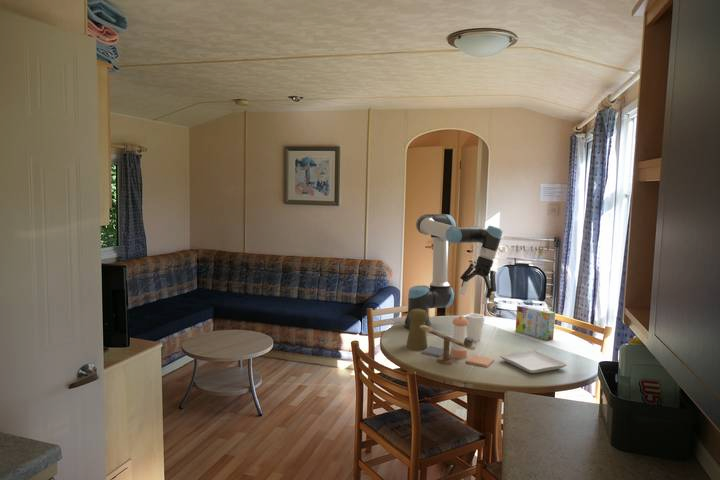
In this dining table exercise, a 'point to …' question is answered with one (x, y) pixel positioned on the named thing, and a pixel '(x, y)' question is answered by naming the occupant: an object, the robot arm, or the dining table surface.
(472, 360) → the orange square coaster
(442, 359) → the balance
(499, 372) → the dining table surface
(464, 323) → the pepper shaker
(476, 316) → the foam cup
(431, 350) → the dish slate
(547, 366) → the salad plate
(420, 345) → the pepper shaker
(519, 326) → the snack box
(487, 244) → the robot arm
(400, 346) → the dining table surface
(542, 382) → the dining table surface
